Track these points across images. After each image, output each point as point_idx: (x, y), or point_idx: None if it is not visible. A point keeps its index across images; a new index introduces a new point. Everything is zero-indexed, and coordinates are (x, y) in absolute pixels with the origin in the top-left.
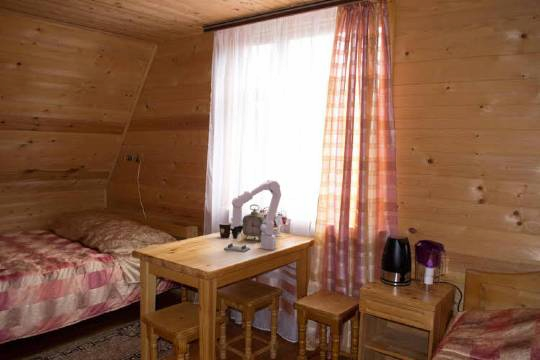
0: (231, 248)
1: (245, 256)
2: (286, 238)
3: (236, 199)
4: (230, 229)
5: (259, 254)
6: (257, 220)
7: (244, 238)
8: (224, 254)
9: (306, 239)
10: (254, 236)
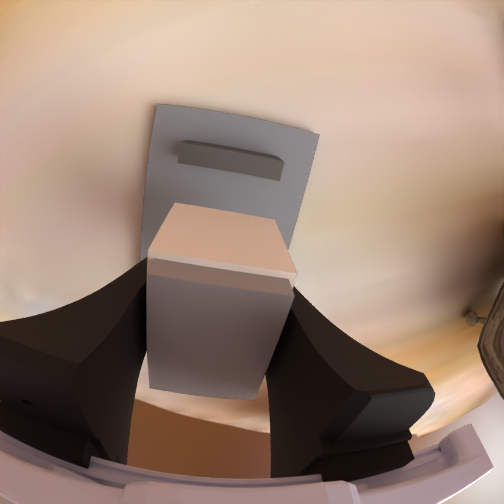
0: (176, 184)
1: None
2: (478, 377)
3: None
4: (9, 321)
5: (146, 385)
6: None
7: None
8: (26, 177)
9: (446, 420)
10: (492, 306)
